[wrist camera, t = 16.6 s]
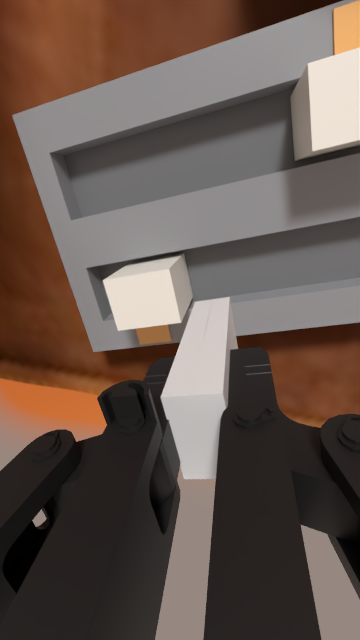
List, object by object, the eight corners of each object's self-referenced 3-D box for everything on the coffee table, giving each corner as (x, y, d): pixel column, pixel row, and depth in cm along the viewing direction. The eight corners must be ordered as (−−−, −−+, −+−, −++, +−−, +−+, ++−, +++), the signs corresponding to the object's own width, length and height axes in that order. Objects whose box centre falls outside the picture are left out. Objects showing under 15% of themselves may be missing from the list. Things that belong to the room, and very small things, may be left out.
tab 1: (130, 262, 27) (102, 280, 22) (183, 252, 26) (169, 268, 21) (141, 304, 29) (118, 330, 23) (192, 296, 28) (181, 322, 22)
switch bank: (43, 125, 26) (10, 114, 23) (453, -9, 19) (506, -59, 15) (109, 334, 33) (92, 353, 29) (429, 294, 26) (462, 311, 22)
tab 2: (290, 96, 21) (307, 63, 15) (372, 73, 20) (422, 28, 14) (294, 161, 22) (312, 151, 17) (371, 143, 21) (417, 125, 16)
